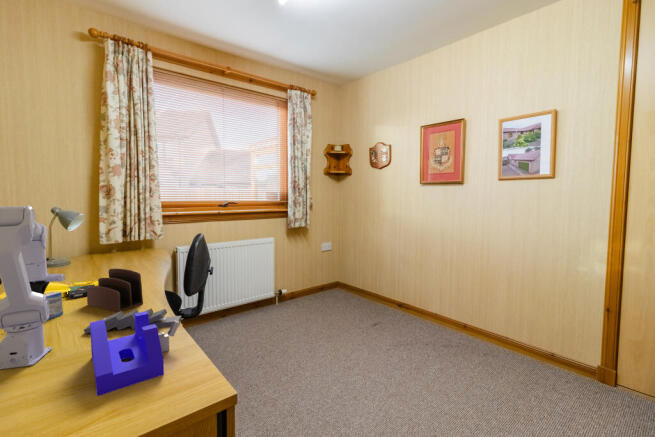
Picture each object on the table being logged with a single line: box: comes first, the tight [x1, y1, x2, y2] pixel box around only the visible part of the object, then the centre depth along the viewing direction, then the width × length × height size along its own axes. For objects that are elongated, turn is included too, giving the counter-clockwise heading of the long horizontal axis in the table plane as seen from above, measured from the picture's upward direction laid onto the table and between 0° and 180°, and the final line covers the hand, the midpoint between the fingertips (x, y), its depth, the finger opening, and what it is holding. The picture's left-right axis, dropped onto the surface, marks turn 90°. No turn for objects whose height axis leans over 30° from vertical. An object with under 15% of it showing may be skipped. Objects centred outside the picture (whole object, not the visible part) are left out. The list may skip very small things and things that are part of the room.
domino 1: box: [83, 311, 124, 335], centre depth 105 cm, size 5×2×10 cm
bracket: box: [89, 310, 165, 397], centre depth 83 cm, size 21×14×10 cm, turn 39°
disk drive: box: [67, 283, 96, 300], centre depth 143 cm, size 10×3×15 cm
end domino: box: [149, 315, 182, 328], centre depth 110 cm, size 5×2×10 cm
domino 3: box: [115, 308, 154, 331], centre depth 107 cm, size 5×2×10 cm
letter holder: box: [86, 268, 144, 313], centre depth 128 cm, size 10×20×14 cm, turn 67°
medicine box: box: [44, 291, 64, 321], centre depth 114 cm, size 8×4×9 cm, turn 168°
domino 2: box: [106, 308, 140, 331], centre depth 106 cm, size 5×2×10 cm
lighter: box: [158, 320, 180, 353], centre depth 91 cm, size 7×2×8 cm, turn 130°
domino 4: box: [129, 308, 168, 330], centre depth 108 cm, size 5×2×10 cm
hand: (37, 304), depth 98 cm, fingers closed
